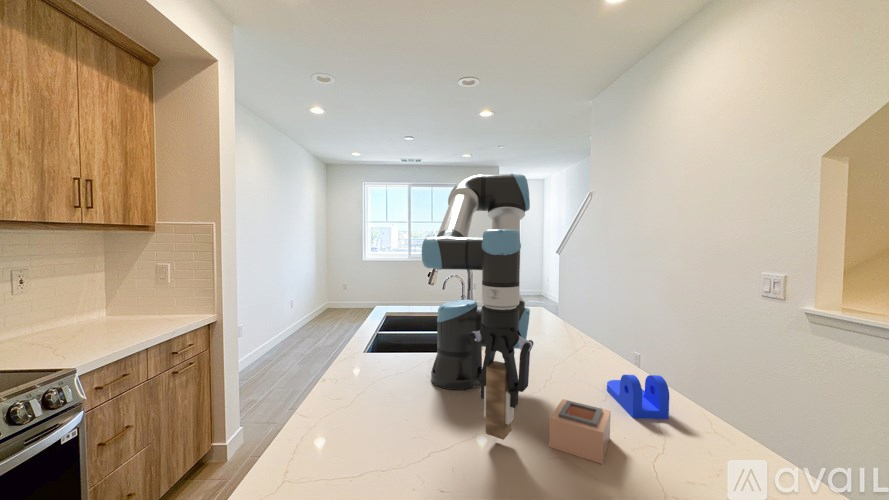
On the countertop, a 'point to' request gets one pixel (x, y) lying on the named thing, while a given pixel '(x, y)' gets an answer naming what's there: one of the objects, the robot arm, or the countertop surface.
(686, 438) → the countertop surface
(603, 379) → the countertop surface
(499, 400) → the tall wooden block
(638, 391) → the bracket
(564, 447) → the peach square socket block
